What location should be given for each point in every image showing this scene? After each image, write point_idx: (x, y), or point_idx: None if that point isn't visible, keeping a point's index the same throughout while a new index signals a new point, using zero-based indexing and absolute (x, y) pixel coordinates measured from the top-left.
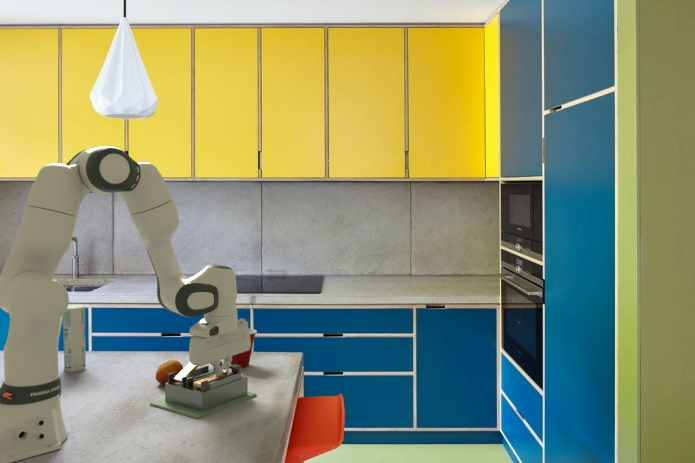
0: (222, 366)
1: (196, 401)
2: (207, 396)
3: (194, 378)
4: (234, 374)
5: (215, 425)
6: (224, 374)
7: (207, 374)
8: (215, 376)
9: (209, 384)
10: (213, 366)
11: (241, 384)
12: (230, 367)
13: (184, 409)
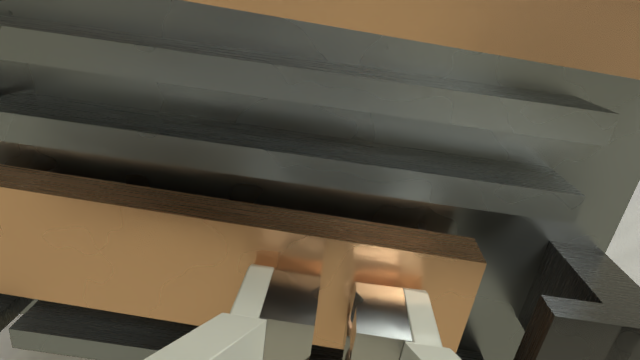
0: (386, 345)
1: None
2: None
3: (31, 63)
4: (541, 288)
5: (13, 350)
6: (336, 327)
7: (288, 98)
8: (223, 278)
9: (15, 340)
10: (177, 344)
11: None
12: (533, 338)
13: None
